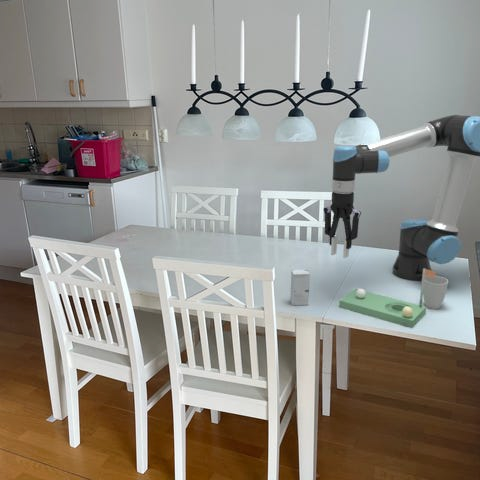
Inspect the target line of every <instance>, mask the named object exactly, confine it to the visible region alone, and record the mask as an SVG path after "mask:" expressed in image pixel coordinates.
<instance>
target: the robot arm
mask: <svg viewBox="0 0 480 480" xmlns="http://www.w3.org/2000/svg"><path fill="white" fill-rule="evenodd" d="M379 139H380V141H378V142H379V143H376V144H370V145H361V144H357V145H338V146H336V147H334V150H333V156H332V157H333V159H332V182H331V185H332V186H331V190H332V192H331V204H330V206H326V207H324V208H323V212H324V235H327V236H328V237H329V246H330V247H331V248H330V255H331V256H335V255H336V254H337V250H338V249H337V248H338V247H337V246H338V236H337V234H336V233H337V230H338V225H339V222H340V219H342V221H343V227H344V233H345V239H344V240H343V253H342V254H343V255H342V256H343V257H342V258H344V259H346V258H348V257H349V254H350V253H349V251H350V249H351V248H352V240H355V239H357V238H358V235H359V234H358V233H359V222H360V217H361V215H362V211H358V210H356V209H355V207H354V201H355V199H354V198H355V192H354V191H355V180H356V175H357V174H359V175H360V174H378V173H379V174H380V173H385V172H386V171H388V169H389V166H390V158H392V157H394V156H398V155H401V154H405V153H408V152H411V151H416V150H419V149H421V148H425V147H426V148H428V149H431V148H435V147H447V149H446V153H447V154H448V155H449V158H448V161H447V164H446V165H447V166H446V169H445V172H444V176H443V180H442V183H441V186H440V190H439V192H438V196H437V200H436V204H435V207H434V211H433V213H432V217H431V219H426V218H410V219H405V220H403V221H402V222H401V226H400V228H399V230H400V233H399V244H398V245H399V246H398V254H397V256H396V259H395V261H394V263H393V266H392V274H393V275H395V276H396V277H399V278H401V279H403V280H409V281H422V275H423V268H425V269H427V270H432V268H431V267H432V266H431V263H432V262H433V263H435V264H438V265H445V264H449V263H450V262H452V261H454V260H455V259H456V258H457V256H459V254H460V253H461V252H460V251H461V249H462V246H461V245H462V244H461V241H460V240H459V237H458V234H459V228H458V226H457V222H458V219H459V215H460V212H461V209H462V205H463V201H464V199H465V195H466V194H467V193H466V192H467V189H468V185H469V182H470V178H471V177H472V175H471V174H472V172H473V168H474V166H475V162H476V161H477V160H479V159H480V116H479V115H478V116H477V115H476V116H475V115H459V114H452V115H447V116H444V117H440V118H437V119H434V120H431V121H426V122H424V123H422V124H421V126H420V127H415V128H413V129H412V128H411V129H409V130H406V131H403V132H398V133H396V134H392V135H389V136H385V137H381V138H379ZM332 213H333V216H332ZM351 215H352V224H351ZM430 262H431V263H430Z"/></svg>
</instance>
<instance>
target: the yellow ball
mask: <svg viewBox="0 0 480 480" xmlns="http://www.w3.org/2000/svg"><path fill="white" fill-rule="evenodd" d="M402 313H403V315H404V316H406V317H410V316H412V314H413V309H412V308H411V307H408V306H406V307H404V308H403V310H402Z"/></svg>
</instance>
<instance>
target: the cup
mask: <svg viewBox="0 0 480 480" xmlns="http://www.w3.org/2000/svg"><path fill="white" fill-rule="evenodd" d="M448 285H449V280H448V279H447V278H446V277H442V276H439V275H435V278H431V277H427V276H425V280H424V289H423V298H422V299H423V302H424V306H425V307H426V308H428V309H431V310H437V309H440V308H441V307H442V305H443V302H444V300H445V297H446V295H447V290H448Z"/></svg>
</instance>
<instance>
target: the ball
mask: <svg viewBox="0 0 480 480" xmlns="http://www.w3.org/2000/svg"><path fill="white" fill-rule="evenodd" d="M357 289H358V290H357V291H356V295H357V297H358V298H364V297H365V295H366V292H365V291H366V290H365V289H363V288H357Z"/></svg>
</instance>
